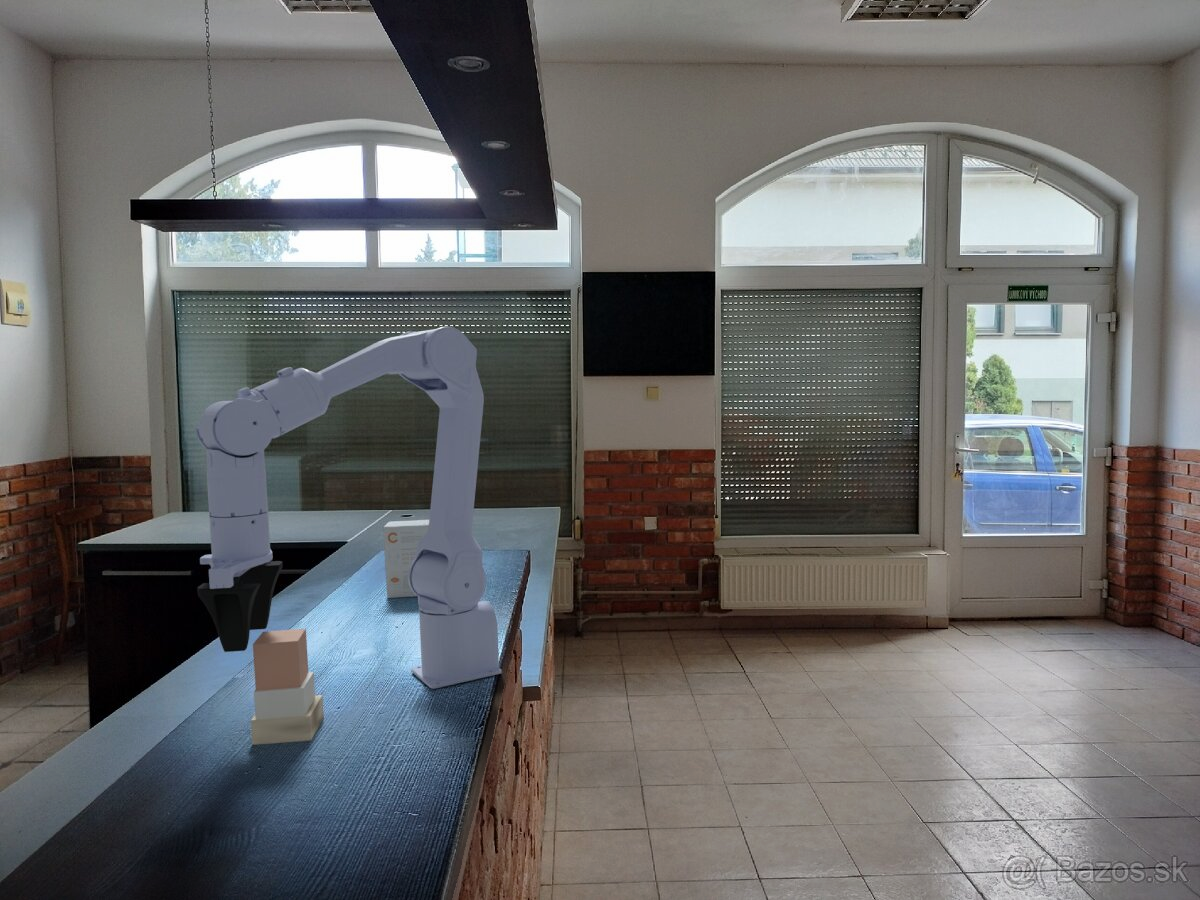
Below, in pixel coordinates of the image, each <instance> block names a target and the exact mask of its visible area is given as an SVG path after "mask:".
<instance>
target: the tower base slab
mask: <svg viewBox="0 0 1200 900" xmlns="http://www.w3.org/2000/svg"><path fill="white" fill-rule="evenodd" d="M323 697H324V695H323V694H318V695H316V694H315V700H314V701H313V703H312V705H311V707H310V708H309V710H308V712H307V713H306V715H305V716H296V717H283V718H270V719H257V720H256V717H255V714H254V715H253V717H252V718H251V719H250V729H251V731H250V733H251V745H266V744H267V745H268V744H279V743H280V744H281V743H283V744H284V743H293V742H306V741H312V740H313V738H314V736H315V734H316V733H317V731H318V729H319V727H320V726H321V723H322V722H323V720H324V719H325V716H324V715H325V714H324V698H323Z"/></svg>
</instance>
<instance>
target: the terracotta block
mask: <svg viewBox="0 0 1200 900" xmlns="http://www.w3.org/2000/svg"><path fill="white" fill-rule="evenodd" d="M307 641H308V640H307V628H294V629H281V630H269V631H268V630H267V631H262V632H261V634H260V635H258V637H257V639H256V640H255V641H254V642H253V643H252V653H253V667H254V668H253V670H254V683H255V684H254V685H255V686H254V687H255V690H256V691H260V690H271V689H283V688H294V687H301V685H302V683H303V682H304V680H305V678H306V676H307V674H308V672H309V661H308V657H309V656H308V642H307Z"/></svg>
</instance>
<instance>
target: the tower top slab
mask: <svg viewBox="0 0 1200 900" xmlns="http://www.w3.org/2000/svg"><path fill="white" fill-rule="evenodd" d="M315 695H316V686H315V672H314V671H308V674H307V676H306V678H305V680H304V682H303V683H302V685H301V687H294V688H283V689H271V690H260V691H256V689H255V690H254V691H253V697H254V698H253V700H254V701H253V702H254V715H255V717H256V720H257V719H270V718H283V717H296V716H305V715H306V713H307V712H308V710H309V708H310V707H311V705H312V703H313V701H314V700H315Z"/></svg>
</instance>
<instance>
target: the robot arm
mask: <svg viewBox="0 0 1200 900" xmlns="http://www.w3.org/2000/svg"><path fill="white" fill-rule="evenodd" d="M477 356H478V349H477V348H476V347H475V346H474V345H473V343H472V341H470V339H468V337H467V336H466V335H465V334H464V333H463V332H462V331H461V330H459V329H458V328H455V327H452V326H442V327H438V328H435V329H428V330H421V331H406V332H403V333H401V334H400V335H398V336H392V337H391V336H390V337H388V338H385V339H382V340H379V341H377V342H374V343H373V344H371V345H368V346H367V347H365V348H362V349H361V350H359V351H357V352H355V353H353V354H351V355H349V356H347V357H346V358H345V357H344V358H343V359H341V360H339V361H337V362H335V363H333V364H331V365H329V366H328V367H326V368H323V369H321V370H319V371H317V372H314V371H312V370H309V369H307V368H304V367H299V368H296V369H293V368H292V367H285V368H284V367H283V368H282V369H280V370H278V371H277V372H276V374H277V376H278V377H276V378H274V379H272V380H270V381H267V382H265V383H263V384H260V385H258V386H256V387H254V388H251V389H250V387H248V386H246V387H243V388H240V389H239V390H237V391H236V393H237V395H238V397H237V398H236V399H233V400H221V401H218V402H217V401H216V402H214V403H212V404H211V405H209V406H208V407H206V408H205V409H204V412H203V413H202V414H201V415H200V418H199V420H198V426H197V427H195V428H194V431H195V436H196V438H197V441H198V442H199V444H200V445H201V446H202V447H203V448H204V449H205V453H206V454H205V455H206V458H205V459H206V469H207V470H206V484H207V485H206V486H207V503H208V513H209V515H208V516H209V533H210V535H209V536H210V549H211V554H210V553H209V554H204V555H202V556H201V557H200V558H199V564H200V565H209V566H210V568H209V569H208V578H209V579H208V580H209V581H208V582H203V583H202V584H200V585H199V586H198V587H197V588H196V589H197V595H198V598H199V599H200V600H201V601H202V603H203V605H204V606H205V607H206V609H207V611H208V613H209V614H210V616H211V618H212V621H213V623H214V625H215V628H216V631H217V635H218V637H219V641H220V644H221V647H222V650H223V652H225V653H230V652H232V653H233V652H244V651H246V650H247V649H248V646H249V641H250V632H251V631H252V630H253V631H257V630H266V629H267V627H268V624H269V619H270V614H271V607H272V601H273V595H274V590H275V587H276V584H277V581H278V578H279V576H280V574H281V572H282V569H283V567H284V565H283V561H281V560H275V561H274V560H273V557H274V556H273V551H272V549H271V541H270V539H271V538H270V524H269V523H270V522H269V521H270V519H269V505H268V504H269V503H268V487H267V472H266V471H267V470H266V464H265V461H266V459H265V449H266V448H268V446H269V445H270V443H271V442H272V439H276V438H278V437H281V436H283V435H285V434H287V433H288V432H290V431H293V430H295V429H296V428H299V427H300V426H303V425H304V424H307V423H308V422H310V421H313V420H314V419H317V418H320V417H321V416H322V415H323V416H324V414H326V412H327V410H328V408H329V405H330V402H331V399H332V398H334V397H336V396H338V395H341V394H342V393H346V392H347V391H348V392H349V391H350V390H352V389H355V388H357V387H359V386H361V385H364V384H365V383H368V382H370V381H373V380H375V379H377V378H379V377H382V376H384V375H399V376H400V377H401V378H403V379H404V380H405V381H407V382H409V383H410V384H412V385H414V386H416V387H417V388H419V389H421V390H422V391H424V392H425V393H426V394H427V395H428V396H429V398H431V400H432V401H433V402H434V403H435V404H436V405H437V407H438V408H439V416H438V424H437V425H438V426H437V436H436V447H435V456H434V457H435V458H434V466H433V467H434V468H433V469H434V470H433V477H432V478H433V479H432V487H431V488H432V489H431V499H430V507H429V508H430V509H429V519H428V520H429V529H428V530H427V532H426V533H425V534H424V535H423V536H422V538H421V539H420V540H419V541H418V543H417V551H416V555H415V558H414V560H413V561H412V563H411V565H410V567H409V570H408V584H409V586H410V589H411V590H412V591H413V593H414V594H416V595H417V596H416V597H417V605H418V613H419V615H418V616H419V617H418V618H419V635H420V636H419V637H420V638H419V641H420V656H421V657H420V659H421V665H419V666H414V667H412V668H411V669H410V670H411V671H410V672H411V673H413V674H414V675H415V676H416V677H417V678H418V679H419V680H420V681H422V682H423V683H424V684H425V685H426V686H428V687H429V688H430V689H432V690H433V689H434V690H435V689H439V688H444V687H448V686H452V685H457V684H461V683H465V682H470V681H475V680H479V679H483V678H488V677H492V676H495V675H496V676H497V675H500V674H502V669H501V668H500V659H499V633H498V621H497V620H498V619H497V615H496V612H495V609H494V608H493V606H492V604H491V603H490V602H489V601H487V600H482V598H483V595H484V594H485V591H486V588H487V576H486V575H487V574H486V572H485V568H484V565H483V549H482V547H481V546H480V544H479V542H478V541H477V539H476V538H475V536H474V535H473V532H472V530H473V522H474V521H473V520H474V510H475V499H476V498H475V497H476V489H477V488H476V487H477V477H478V469H479V457H480V446H481V435H482V434H481V433H482V426H483V424H482V423H483V414H484V402H485V399H484V398H485V396H484V391H483V387H482V384H481V380H480V377H479V376H480V375H479V373H478V371H477V365H476V364H477Z"/></svg>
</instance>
